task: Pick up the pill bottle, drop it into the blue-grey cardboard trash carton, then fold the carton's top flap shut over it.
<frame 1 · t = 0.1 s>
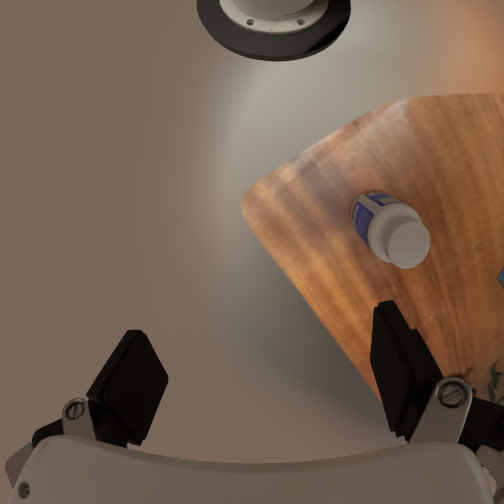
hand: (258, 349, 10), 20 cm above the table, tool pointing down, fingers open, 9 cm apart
pill bottle: (371, 213, 28), on the table
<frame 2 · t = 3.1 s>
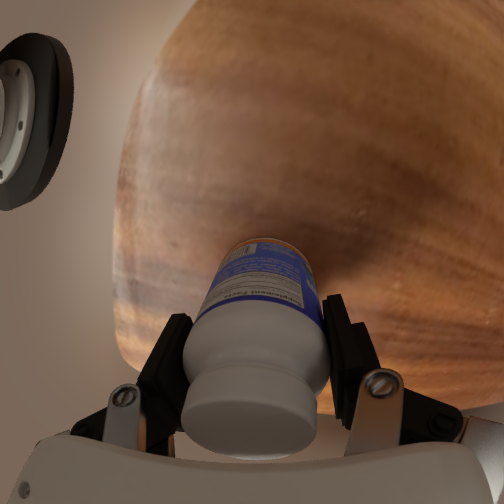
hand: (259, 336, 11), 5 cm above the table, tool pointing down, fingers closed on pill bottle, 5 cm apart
pill bottle: (265, 278, 16), on the table, touching gripper
when the fingers open (15 cm above the table, at t = 8.9 s): pill bottle drops 10 cm, resting on trash carton.
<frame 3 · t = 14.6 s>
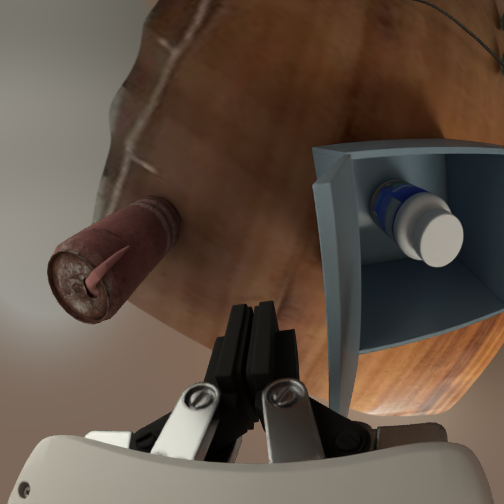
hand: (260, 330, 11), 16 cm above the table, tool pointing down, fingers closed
can: (156, 222, 28), on the table
trash carton: (391, 203, 24), on the table
flap: (349, 322, 11), point 17 cm above the table, hinge at 108.5°, touching gripper
pill bottle: (392, 205, 24), resting on trash carton
sunglasses: (460, 8, 13), on the table
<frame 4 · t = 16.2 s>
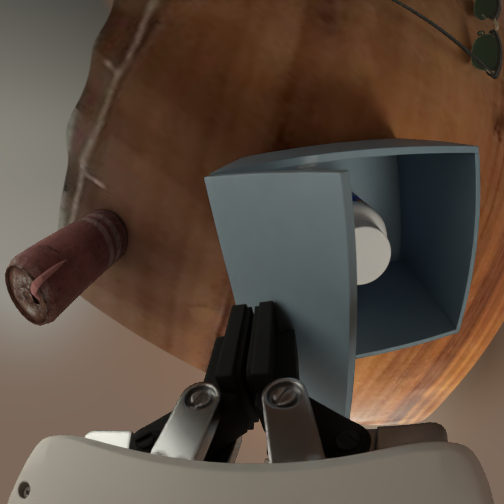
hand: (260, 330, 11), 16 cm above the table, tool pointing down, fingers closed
can: (108, 233, 28), on the table
trash carton: (332, 211, 25), on the table
flap: (284, 326, 11), point 16 cm above the table, hinge at 49.2°, touching gripper
pill bottle: (333, 213, 25), resting on trash carton
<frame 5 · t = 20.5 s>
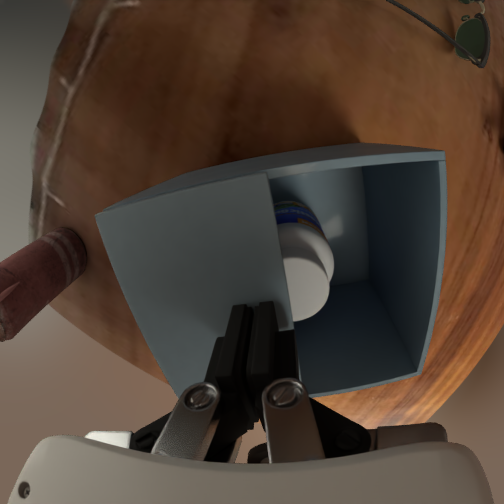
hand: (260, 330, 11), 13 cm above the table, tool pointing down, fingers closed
can: (70, 249, 26), on the table
trash carton: (286, 228, 23), on the table
flap: (212, 332, 12), point 13 cm above the table, hinge at 0.3°, touching gripper
pill bottle: (287, 230, 23), resting on trash carton
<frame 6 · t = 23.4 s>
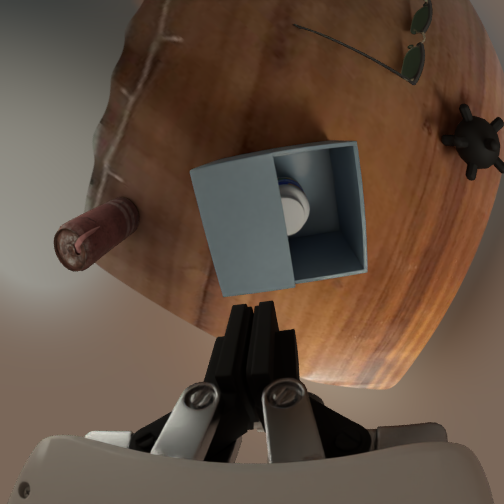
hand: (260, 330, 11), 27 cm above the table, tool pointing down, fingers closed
can: (125, 214, 39), on the table
trash carton: (283, 195, 36), on the table
flap: (245, 231, 25), point 13 cm above the table, hinge at -0.3°
pill bottle: (283, 196, 36), resting on trash carton
sunglasses: (360, 21, 25), on the table
toy ball: (458, 137, 29), on the table
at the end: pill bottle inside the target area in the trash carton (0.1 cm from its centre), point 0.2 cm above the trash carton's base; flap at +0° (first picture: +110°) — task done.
